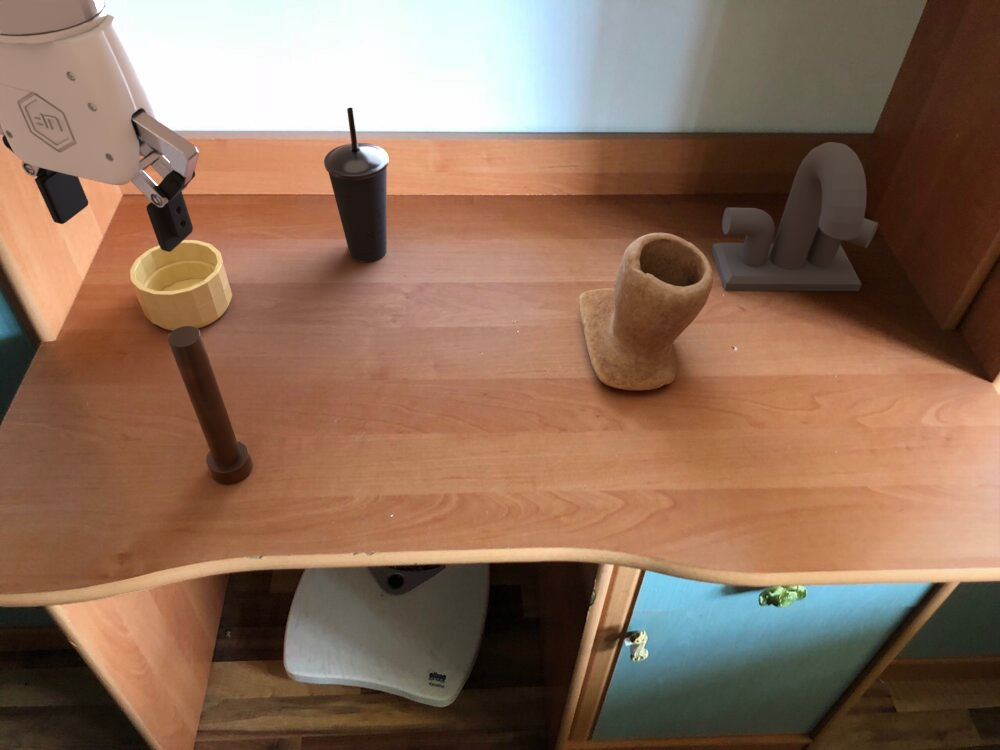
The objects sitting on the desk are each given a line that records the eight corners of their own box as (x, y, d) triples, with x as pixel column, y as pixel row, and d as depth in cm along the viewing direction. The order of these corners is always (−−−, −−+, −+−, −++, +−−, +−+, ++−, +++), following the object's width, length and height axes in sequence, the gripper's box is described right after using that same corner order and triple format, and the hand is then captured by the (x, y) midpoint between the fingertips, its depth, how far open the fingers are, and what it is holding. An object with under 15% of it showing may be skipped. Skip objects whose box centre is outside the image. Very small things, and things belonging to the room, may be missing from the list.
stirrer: (214, 489, 77) (161, 357, 64) (208, 459, 80) (156, 326, 67) (255, 477, 78) (211, 345, 66) (248, 448, 81) (205, 315, 68)
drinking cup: (329, 264, 102) (305, 120, 88) (351, 230, 108) (331, 89, 93) (385, 273, 101) (370, 129, 87) (404, 239, 106) (393, 97, 92)
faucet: (732, 330, 95) (777, 185, 81) (706, 250, 106) (742, 110, 92) (882, 330, 95) (953, 186, 81) (841, 251, 106) (897, 111, 92)
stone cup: (698, 397, 87) (729, 291, 76) (591, 398, 87) (607, 292, 76) (672, 306, 98) (696, 202, 87) (576, 307, 97) (588, 203, 87)
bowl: (149, 342, 92) (133, 302, 87) (142, 289, 98) (127, 250, 94) (239, 321, 94) (227, 282, 90) (226, 271, 101) (215, 232, 97)
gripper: (-125, -3, 48) (-3, 230, 61) (111, 42, 44) (191, 281, 57) (-29, -43, 53) (66, 180, 65) (191, -5, 49) (248, 224, 62)
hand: (124, 227), depth 61 cm, fingers open, 9 cm apart
